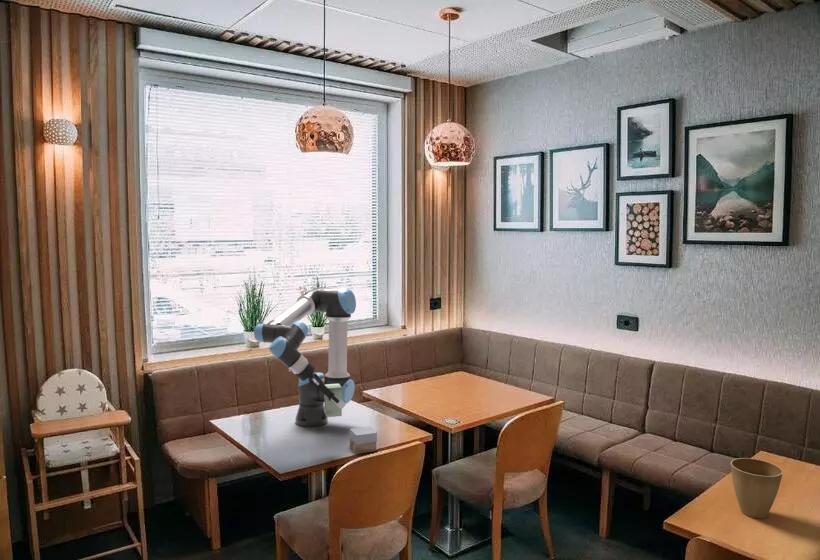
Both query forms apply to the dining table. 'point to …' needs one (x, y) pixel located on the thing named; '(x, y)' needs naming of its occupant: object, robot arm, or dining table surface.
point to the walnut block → (363, 447)
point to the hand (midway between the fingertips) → (341, 404)
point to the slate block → (363, 435)
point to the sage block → (330, 406)
